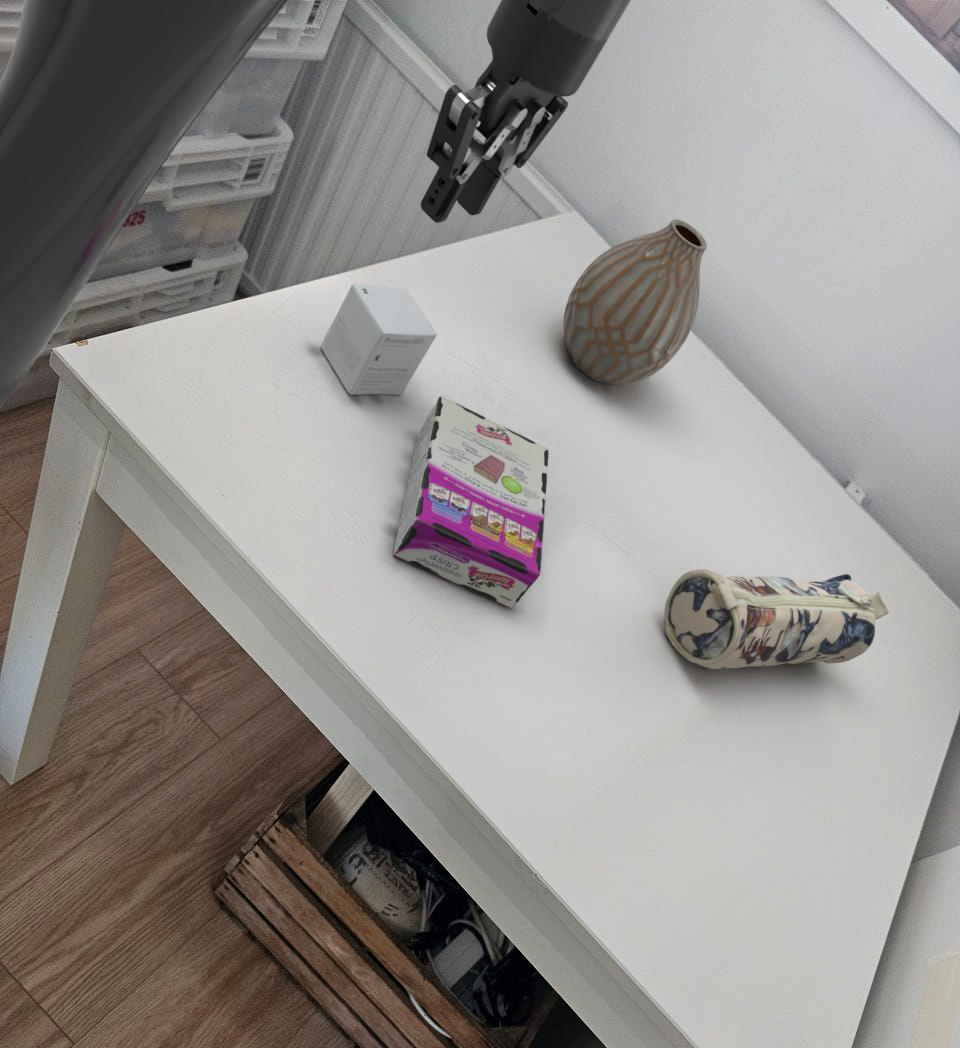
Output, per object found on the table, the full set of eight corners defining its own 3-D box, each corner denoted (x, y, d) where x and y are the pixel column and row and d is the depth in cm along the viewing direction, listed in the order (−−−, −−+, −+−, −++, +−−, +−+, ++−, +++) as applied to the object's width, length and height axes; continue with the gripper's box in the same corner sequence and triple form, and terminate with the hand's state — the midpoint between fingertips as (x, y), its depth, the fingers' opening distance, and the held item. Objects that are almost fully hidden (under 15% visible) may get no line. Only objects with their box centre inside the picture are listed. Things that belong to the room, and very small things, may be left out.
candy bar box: (510, 613, 85) (524, 484, 96) (541, 577, 81) (553, 447, 92) (387, 557, 81) (416, 430, 92) (414, 517, 78) (441, 390, 89)
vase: (527, 349, 110) (622, 211, 98) (562, 305, 120) (652, 175, 108) (625, 423, 111) (730, 296, 100) (652, 374, 121) (750, 253, 109)
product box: (347, 396, 90) (382, 333, 85) (317, 346, 92) (350, 281, 87) (402, 396, 94) (439, 335, 89) (372, 347, 96) (407, 285, 91)
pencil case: (791, 612, 106) (861, 553, 100) (831, 682, 102) (907, 626, 96) (637, 609, 94) (705, 541, 87) (676, 689, 90) (750, 625, 83)
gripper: (577, -30, 76) (466, 172, 87) (469, -44, 65) (359, 188, 77) (649, 38, 75) (528, 232, 87) (551, 35, 65) (428, 257, 76)
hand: (449, 210), depth 82 cm, fingers open, 4 cm apart
